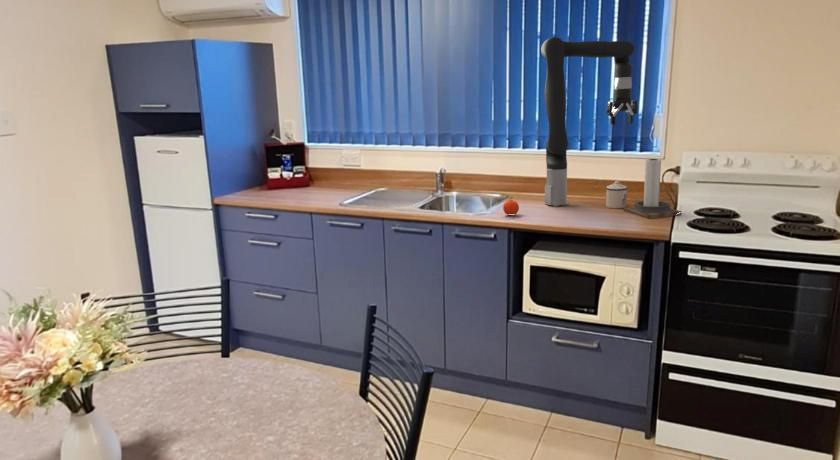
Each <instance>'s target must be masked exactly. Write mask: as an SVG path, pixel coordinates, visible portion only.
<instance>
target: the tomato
mask: <svg viewBox="0 0 840 460" xmlns="http://www.w3.org/2000/svg"><path fill="white" fill-rule="evenodd" d="M502 209H503V212H504V214H506V215H507V214H515V215H516V214H517V213H518V212H519V210H520V206H519V203H518V202H517V201H515V200H514V199H508V200H506V201H505V202H504V203H503V207H502Z"/></svg>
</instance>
